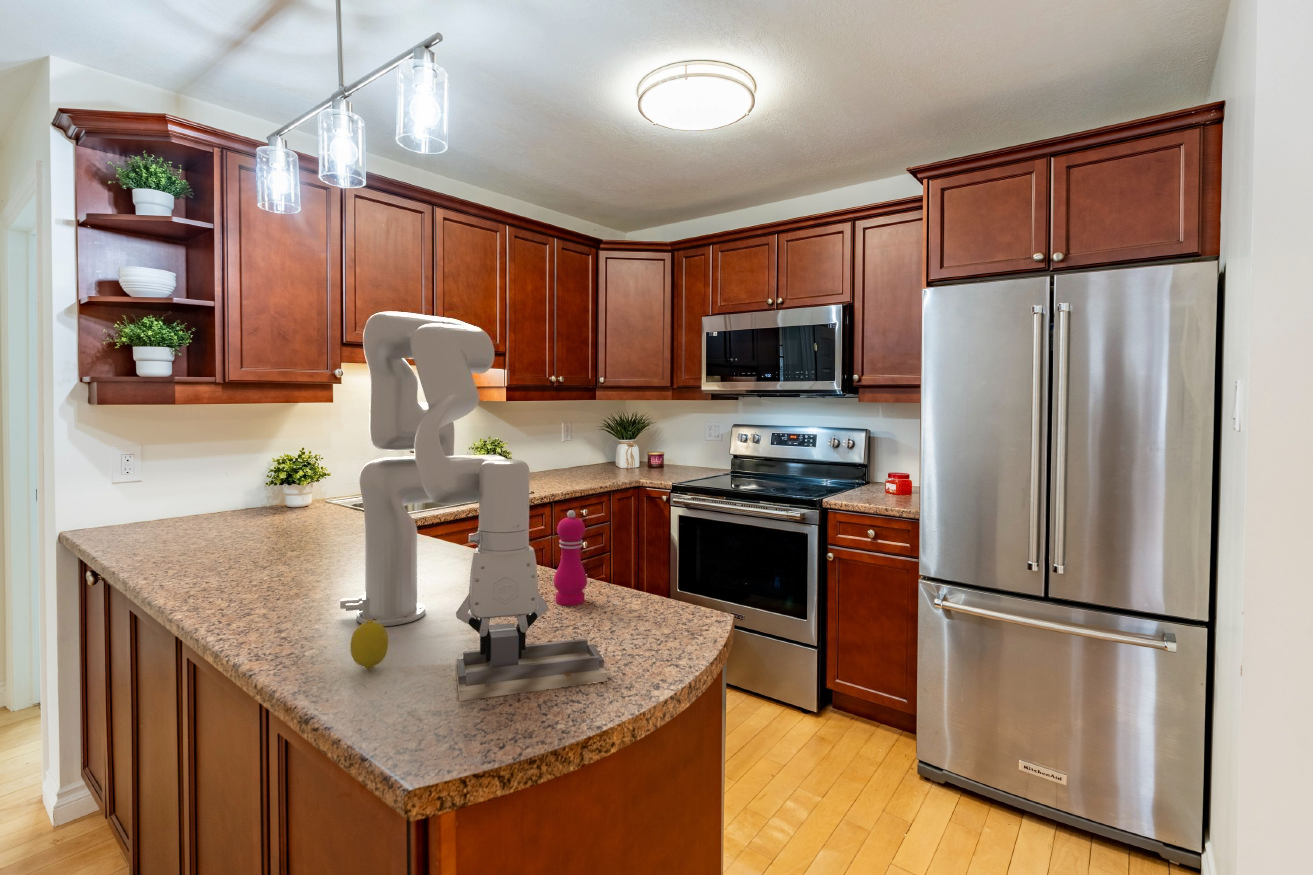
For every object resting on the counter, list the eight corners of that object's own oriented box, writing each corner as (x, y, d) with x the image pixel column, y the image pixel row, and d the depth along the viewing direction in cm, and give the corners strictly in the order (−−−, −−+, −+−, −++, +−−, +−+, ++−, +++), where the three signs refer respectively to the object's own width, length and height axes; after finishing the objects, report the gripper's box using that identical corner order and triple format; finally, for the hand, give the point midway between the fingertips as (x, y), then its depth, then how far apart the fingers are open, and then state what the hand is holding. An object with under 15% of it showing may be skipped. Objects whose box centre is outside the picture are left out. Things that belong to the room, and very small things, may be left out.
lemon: (358, 662, 105) (358, 614, 105) (393, 662, 105) (393, 614, 105) (344, 676, 99) (344, 626, 99) (381, 676, 100) (381, 625, 100)
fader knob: (490, 677, 96) (491, 637, 96) (487, 662, 102) (487, 624, 101) (518, 674, 98) (518, 634, 97) (513, 659, 103) (513, 622, 103)
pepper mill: (580, 607, 135) (582, 513, 134) (548, 605, 137) (549, 512, 136) (590, 597, 143) (592, 508, 142) (560, 595, 144) (561, 506, 143)
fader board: (459, 700, 92) (459, 677, 92) (456, 670, 103) (456, 649, 102) (607, 681, 100) (607, 659, 100) (590, 655, 110) (590, 635, 110)
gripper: (447, 548, 92) (446, 672, 93) (562, 542, 98) (561, 659, 99) (446, 537, 99) (445, 653, 100) (553, 532, 105) (552, 642, 106)
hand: (502, 655), depth 100 cm, fingers closed on fader knob, 4 cm apart
